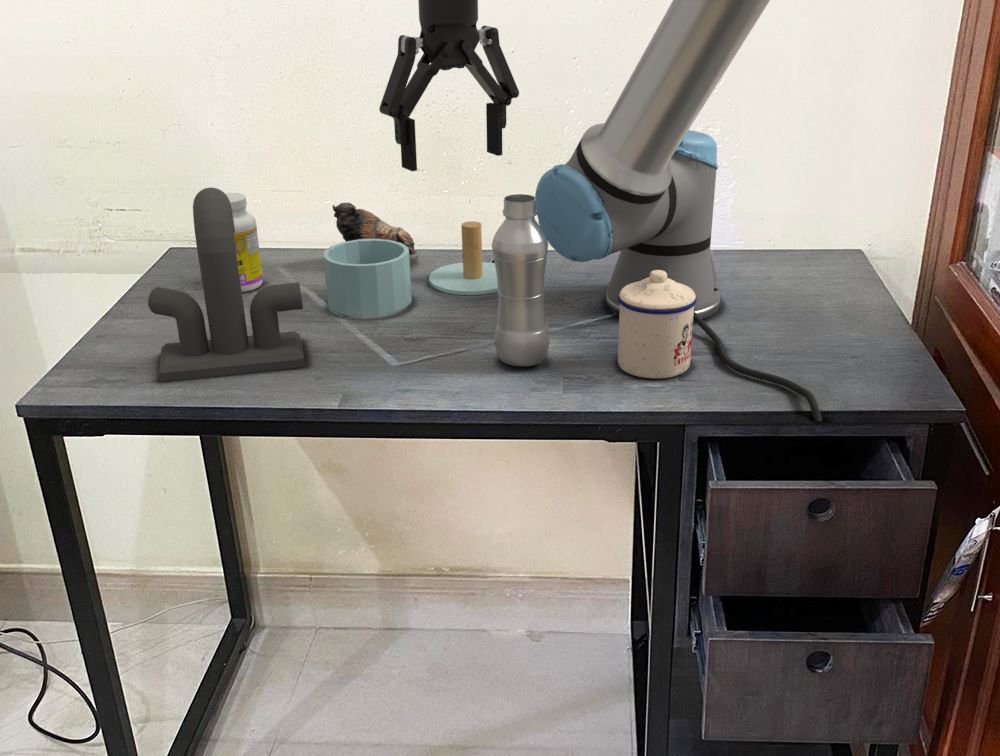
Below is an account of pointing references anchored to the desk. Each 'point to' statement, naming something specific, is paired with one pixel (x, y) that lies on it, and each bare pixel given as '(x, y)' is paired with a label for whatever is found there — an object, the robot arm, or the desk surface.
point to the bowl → (367, 277)
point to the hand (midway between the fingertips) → (452, 161)
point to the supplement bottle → (246, 243)
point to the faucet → (225, 309)
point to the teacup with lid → (655, 327)
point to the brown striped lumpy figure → (369, 227)
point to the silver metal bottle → (520, 284)
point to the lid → (467, 267)
